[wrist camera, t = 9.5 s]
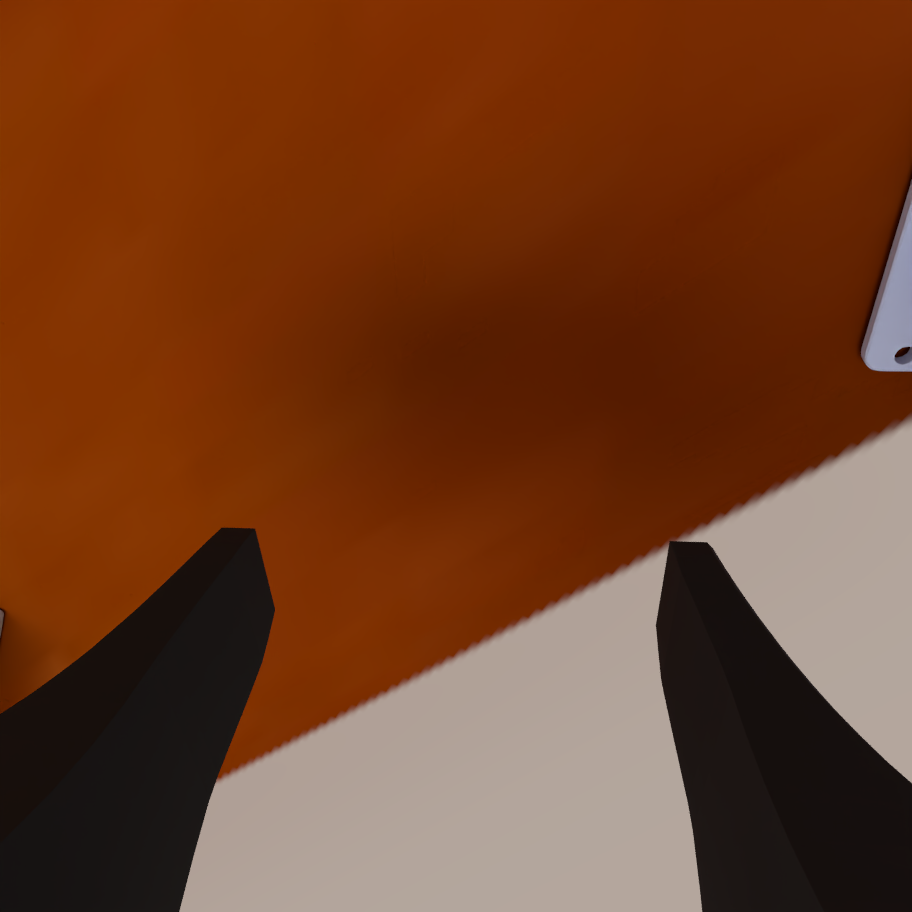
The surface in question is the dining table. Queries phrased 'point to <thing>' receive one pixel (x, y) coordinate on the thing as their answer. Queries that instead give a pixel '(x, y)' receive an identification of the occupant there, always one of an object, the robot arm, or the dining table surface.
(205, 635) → the robot arm
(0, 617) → the coffee box
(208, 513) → the dining table surface
